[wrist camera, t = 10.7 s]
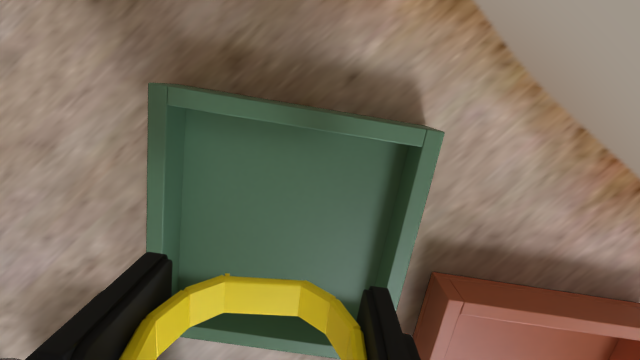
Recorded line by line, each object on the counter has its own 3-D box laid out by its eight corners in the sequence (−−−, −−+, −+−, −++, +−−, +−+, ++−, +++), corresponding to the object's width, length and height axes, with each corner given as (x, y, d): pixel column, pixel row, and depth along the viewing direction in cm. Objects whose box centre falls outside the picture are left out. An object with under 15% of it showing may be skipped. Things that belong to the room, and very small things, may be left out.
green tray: (167, 301, 19) (144, 332, 16) (175, 83, 15) (147, 82, 13) (374, 330, 19) (381, 365, 17) (426, 125, 16) (445, 132, 13)
